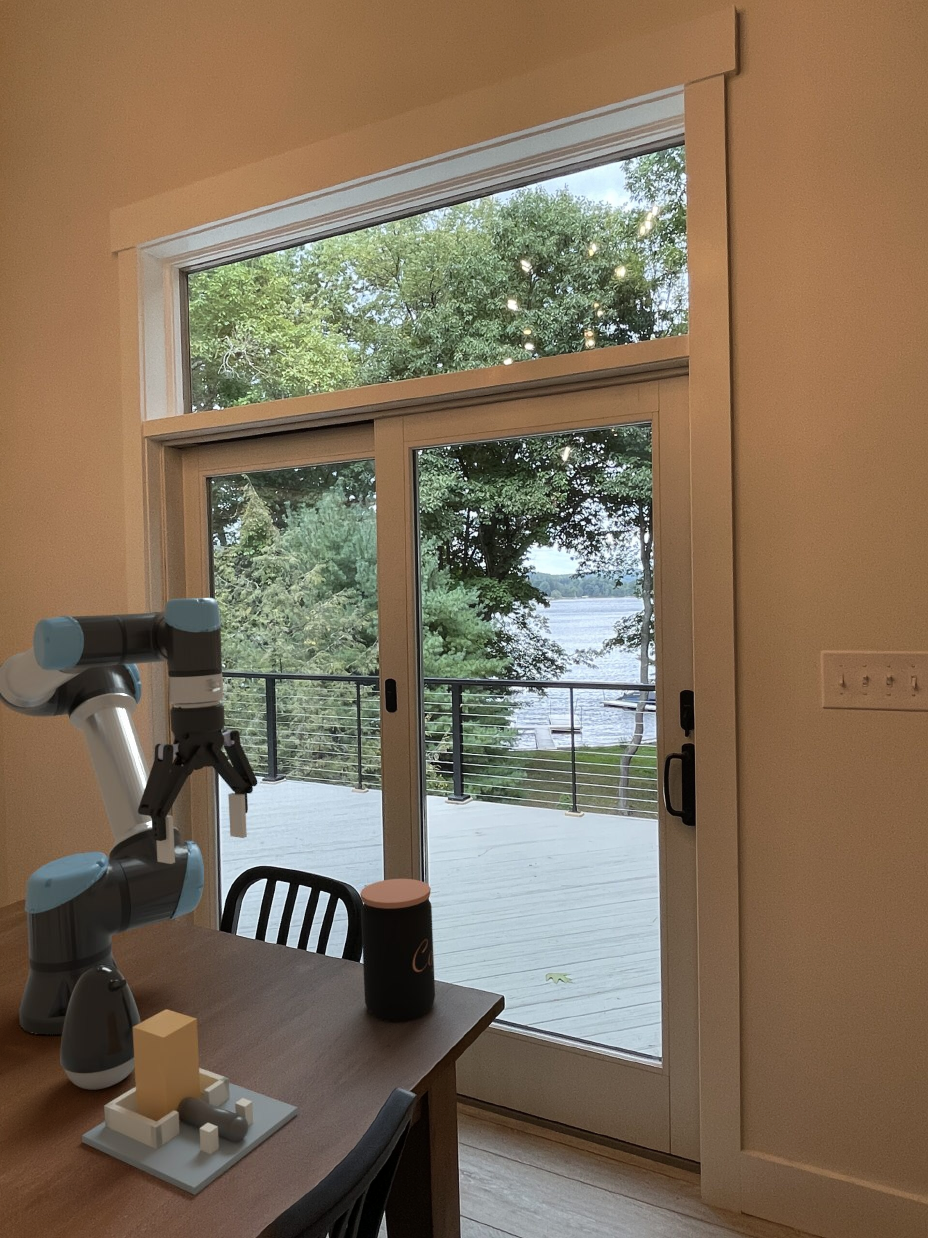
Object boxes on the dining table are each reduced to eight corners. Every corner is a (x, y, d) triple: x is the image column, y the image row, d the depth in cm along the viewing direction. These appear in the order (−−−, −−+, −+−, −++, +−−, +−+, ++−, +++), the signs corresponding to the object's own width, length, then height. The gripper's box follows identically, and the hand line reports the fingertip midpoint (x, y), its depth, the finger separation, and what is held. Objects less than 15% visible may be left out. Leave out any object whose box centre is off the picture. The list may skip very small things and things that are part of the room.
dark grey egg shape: (94, 1110, 107) (88, 990, 107) (45, 1087, 113) (39, 973, 112) (162, 1070, 116) (156, 958, 115) (113, 1051, 121) (108, 944, 121)
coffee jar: (425, 1027, 125) (420, 904, 124) (355, 1022, 127) (350, 901, 126) (442, 992, 135) (437, 879, 135) (377, 989, 137) (372, 877, 137)
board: (82, 1142, 101) (80, 1114, 101) (189, 1074, 114) (188, 1050, 114) (194, 1195, 91) (193, 1164, 91) (297, 1114, 105) (296, 1087, 105)
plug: (137, 1116, 104) (132, 1027, 104) (170, 1095, 108) (166, 1009, 108) (229, 1155, 96) (224, 1058, 96) (261, 1131, 100) (257, 1038, 100)
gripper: (142, 717, 112) (150, 878, 113) (276, 694, 134) (282, 829, 134) (105, 715, 116) (113, 870, 117) (241, 693, 138) (247, 824, 138)
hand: (204, 849), depth 126 cm, fingers open, 13 cm apart
